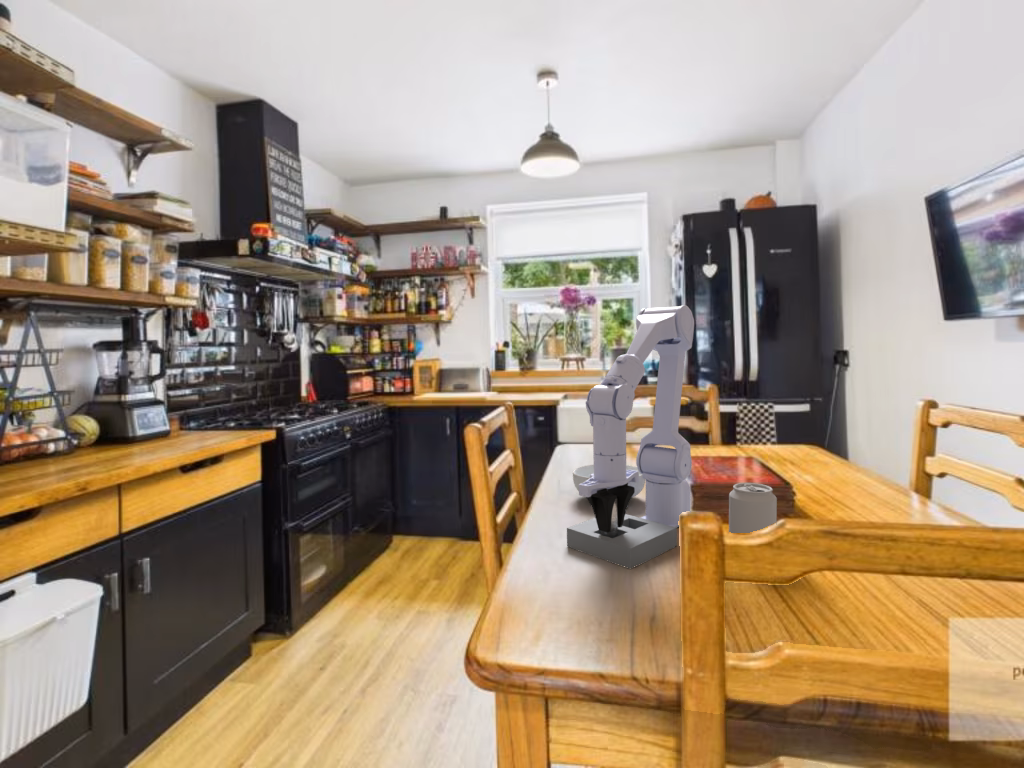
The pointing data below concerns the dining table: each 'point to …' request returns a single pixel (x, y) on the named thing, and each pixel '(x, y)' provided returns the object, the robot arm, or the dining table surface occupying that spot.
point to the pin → (613, 523)
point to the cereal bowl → (584, 472)
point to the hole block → (623, 540)
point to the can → (751, 507)
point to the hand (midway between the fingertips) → (610, 528)
